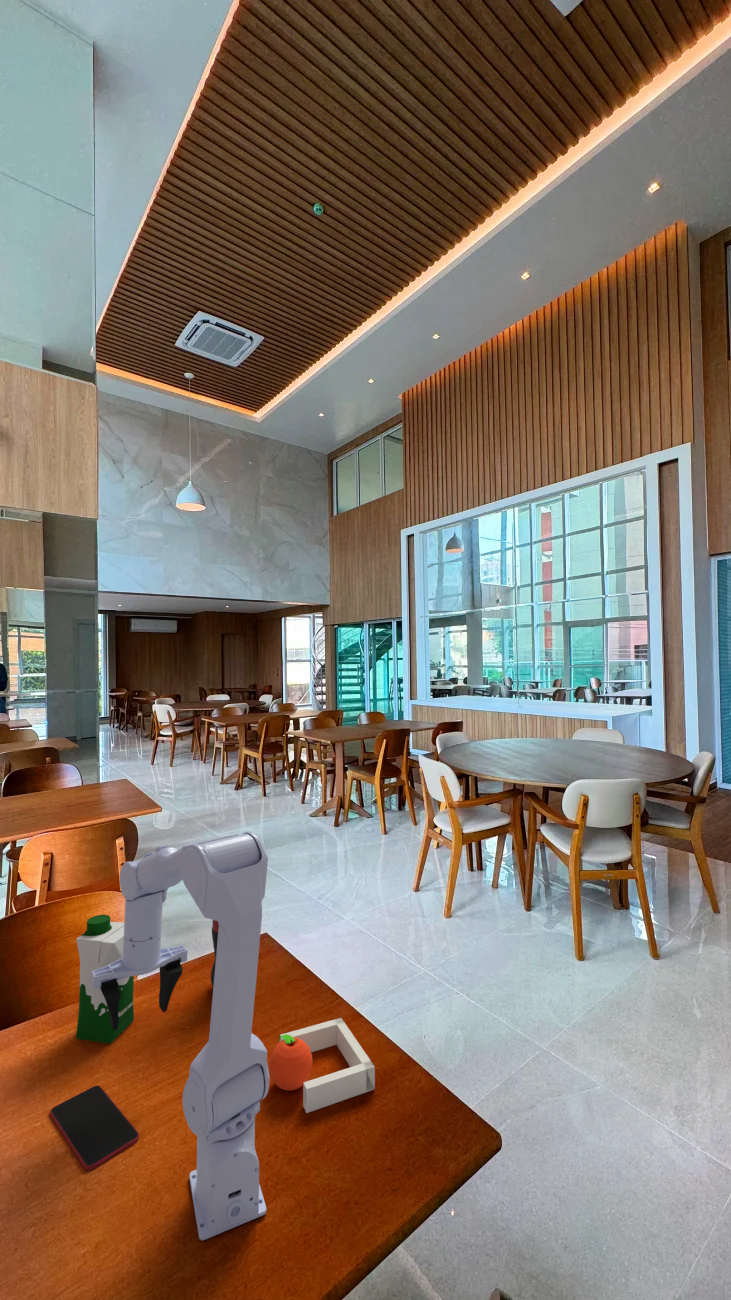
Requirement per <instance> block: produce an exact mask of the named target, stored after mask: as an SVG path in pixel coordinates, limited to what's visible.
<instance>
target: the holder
mask: <svg viewBox="0 0 731 1300" xmlns="http://www.w3.org/2000/svg"><path fill="white" fill-rule="evenodd" d="M286 1034H287V1035H290V1036H292V1037H296V1038H299V1039H301V1040H303V1041H304V1042H305V1043H306V1044H307V1045H308V1047H309V1048H310V1051H311V1053H314V1052H317V1051H321V1050H323V1049H327V1048H330V1047H333V1046H334V1047H335V1046H337V1048H338V1050H339V1051H340V1052H341V1055H342V1056H343V1057H344V1059H345V1061H346V1062H347V1064H348V1066H349V1067H348V1068H344V1069H341V1070H338V1071H335V1072H332V1073H329V1074H326V1075H323V1076H320V1077H317V1078H313V1079H310V1080H307V1081H306V1082H304V1083H303V1085H302V1086H303V1088H302V1089H303V1091H302V1094H303V1095H302V1097H303V1098H302V1100H303V1102H302V1103H303V1104H302V1107H303V1109H304V1111H305V1113H306V1114H309V1113H310V1112H314V1111H317V1110H319V1109H322V1108H325V1107H328V1106H331V1105H335V1104H336V1103H340V1102H343V1101H345V1100H348V1099H351V1098H353V1097H357V1096H360V1095H362V1094H365V1093H368V1092H371V1091H374V1090H376V1089H375V1087H376V1086H375V1084H376V1077H375V1076H376V1074H375V1073H376V1071H375V1070H376V1067H375V1065H374V1063H373V1061H371V1059H370V1057H369V1056H368V1055H367V1053H366V1052H365V1050H364V1049H363V1047H362V1046H361V1044H360V1043H359V1042H358V1040H357V1038H356V1037H355V1035H354V1034H353V1032H352V1031H351V1030H350V1028H349V1027H348V1025H347V1024H346V1023H345V1021H344V1020H343V1018H342V1017H339V1018H335V1019H332V1020H328V1021H324V1022H321V1023H318V1024H313V1025H310V1026H306V1027H304V1028H300V1029H296V1030H292V1031H289V1032H286V1033H281V1034H280V1035H279V1037H280V1036H282V1035H286ZM282 1040H284V1039H283V1038H282V1037H281V1038H280V1040H279V1043H280V1042H281V1041H282Z"/></svg>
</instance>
